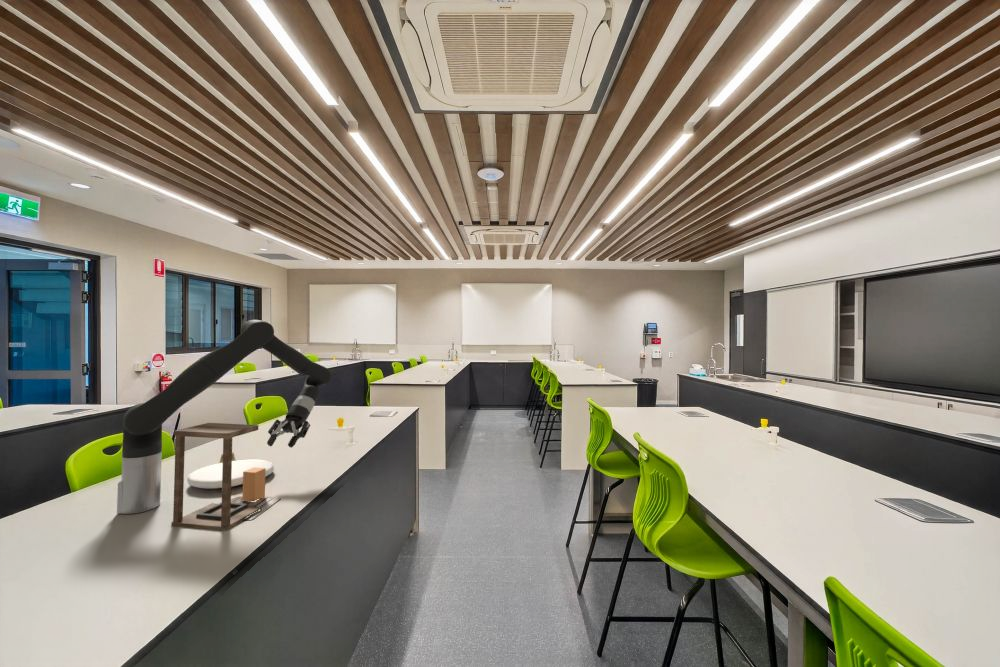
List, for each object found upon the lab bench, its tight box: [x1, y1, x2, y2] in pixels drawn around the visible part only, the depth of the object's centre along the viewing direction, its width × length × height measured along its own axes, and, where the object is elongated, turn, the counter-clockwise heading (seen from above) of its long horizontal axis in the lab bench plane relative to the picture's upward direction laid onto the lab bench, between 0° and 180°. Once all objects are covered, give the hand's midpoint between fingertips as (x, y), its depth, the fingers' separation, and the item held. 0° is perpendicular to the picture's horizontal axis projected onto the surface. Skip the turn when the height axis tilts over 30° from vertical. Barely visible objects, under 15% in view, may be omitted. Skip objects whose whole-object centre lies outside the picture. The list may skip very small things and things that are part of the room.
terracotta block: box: [242, 467, 266, 501], centre depth 128 cm, size 4×4×10 cm
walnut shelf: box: [171, 422, 262, 532], centre depth 115 cm, size 13×18×28 cm
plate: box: [186, 458, 275, 489], centre depth 145 cm, size 28×6×27 cm
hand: (279, 445), depth 139 cm, fingers open, 8 cm apart
